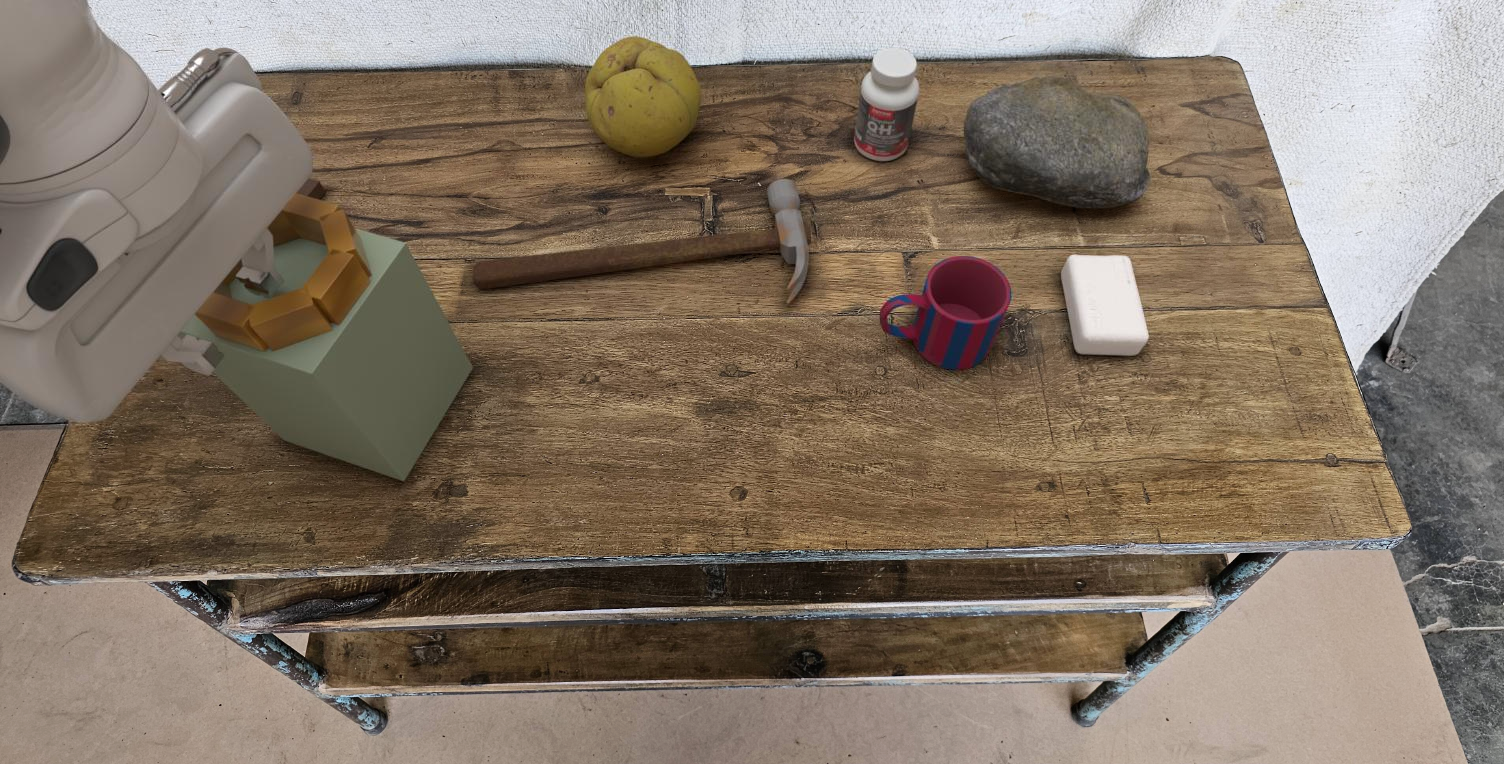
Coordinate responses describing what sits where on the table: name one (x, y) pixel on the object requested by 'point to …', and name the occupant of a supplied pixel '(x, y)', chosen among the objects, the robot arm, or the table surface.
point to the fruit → (642, 97)
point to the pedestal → (353, 363)
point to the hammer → (666, 250)
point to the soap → (1103, 305)
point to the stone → (1058, 143)
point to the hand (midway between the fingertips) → (239, 325)
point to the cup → (954, 312)
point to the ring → (309, 305)
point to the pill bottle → (887, 105)
